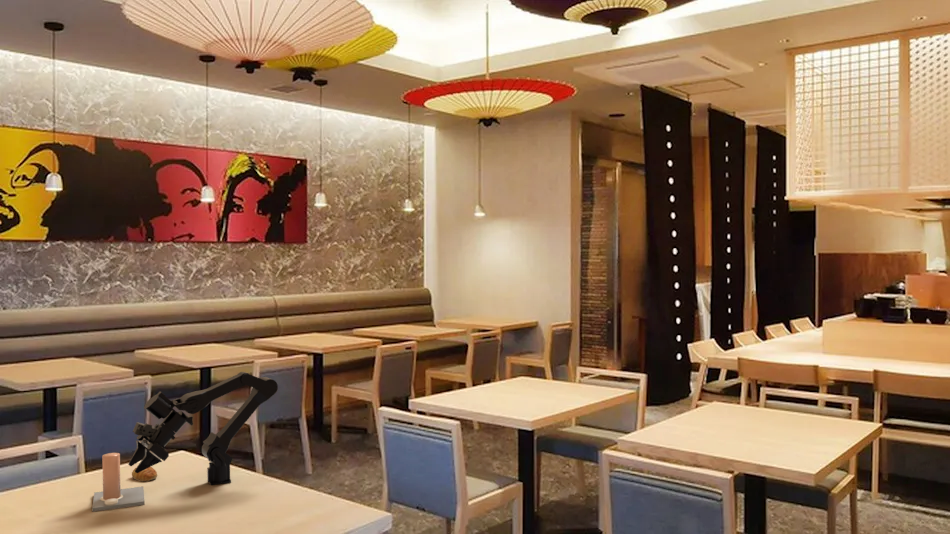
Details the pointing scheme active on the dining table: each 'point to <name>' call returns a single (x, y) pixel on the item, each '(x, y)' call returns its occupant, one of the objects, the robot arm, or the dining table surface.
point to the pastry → (145, 474)
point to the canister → (111, 476)
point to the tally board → (119, 499)
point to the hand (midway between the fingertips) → (132, 468)
